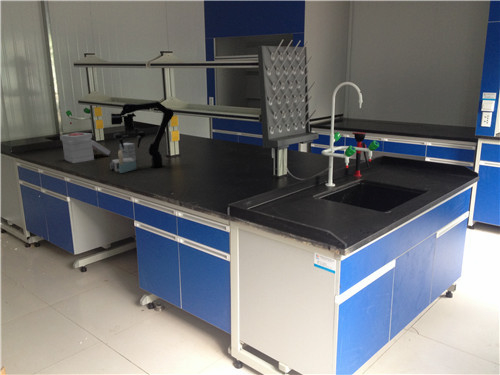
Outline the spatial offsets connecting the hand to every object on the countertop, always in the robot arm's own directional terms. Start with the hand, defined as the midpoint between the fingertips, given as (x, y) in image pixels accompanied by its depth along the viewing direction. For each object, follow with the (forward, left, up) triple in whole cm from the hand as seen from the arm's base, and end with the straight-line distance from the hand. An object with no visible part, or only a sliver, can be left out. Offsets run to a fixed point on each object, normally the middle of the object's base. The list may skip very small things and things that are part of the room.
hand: (130, 148), depth 273 cm
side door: (-3, +6, -13) cm, 15 cm away
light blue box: (+5, +3, -13) cm, 14 cm away
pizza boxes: (+53, -4, -13) cm, 55 cm away
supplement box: (+18, -12, -13) cm, 25 cm away
